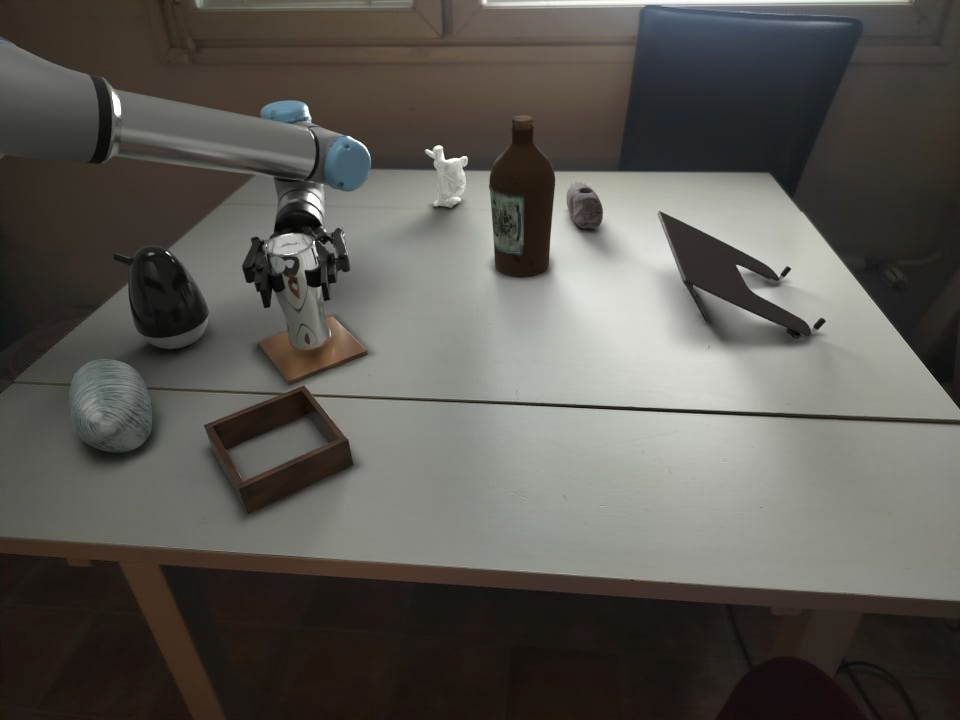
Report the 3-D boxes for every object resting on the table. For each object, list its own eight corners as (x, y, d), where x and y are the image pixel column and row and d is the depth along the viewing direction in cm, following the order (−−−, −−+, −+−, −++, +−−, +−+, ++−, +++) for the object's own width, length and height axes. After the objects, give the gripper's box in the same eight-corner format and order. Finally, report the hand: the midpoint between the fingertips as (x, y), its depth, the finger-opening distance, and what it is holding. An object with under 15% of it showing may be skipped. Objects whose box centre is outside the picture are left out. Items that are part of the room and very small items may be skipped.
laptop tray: (790, 381, 96) (836, 334, 91) (655, 320, 92) (694, 267, 87) (749, 300, 115) (784, 257, 110) (634, 246, 111) (666, 199, 105)
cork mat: (288, 384, 90) (287, 381, 90) (257, 345, 98) (257, 341, 98) (367, 353, 96) (367, 350, 95) (332, 318, 104) (332, 315, 103)
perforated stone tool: (559, 205, 137) (561, 172, 133) (585, 203, 137) (587, 170, 133) (575, 236, 125) (578, 200, 121) (603, 234, 125) (606, 198, 121)
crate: (247, 514, 71) (238, 488, 69) (212, 449, 80) (203, 424, 78) (353, 465, 77) (348, 439, 75) (310, 409, 86) (304, 384, 83)
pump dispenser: (160, 321, 105) (127, 231, 96) (225, 320, 104) (198, 230, 95) (130, 358, 96) (91, 264, 88) (200, 358, 96) (168, 264, 87)
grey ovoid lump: (92, 409, 89) (29, 379, 80) (149, 362, 90) (92, 327, 81) (130, 481, 82) (65, 457, 73) (191, 429, 83) (134, 400, 74)
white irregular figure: (427, 210, 137) (422, 152, 130) (431, 197, 143) (427, 141, 136) (468, 210, 136) (465, 151, 129) (470, 197, 142) (468, 141, 135)
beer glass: (329, 351, 93) (310, 254, 84) (280, 353, 93) (255, 256, 84) (338, 324, 99) (320, 231, 90) (291, 326, 99) (269, 232, 90)
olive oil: (518, 245, 122) (518, 104, 108) (564, 262, 116) (571, 115, 102) (478, 266, 116) (473, 120, 102) (525, 285, 110) (526, 133, 96)
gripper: (367, 238, 108) (376, 310, 89) (240, 252, 105) (223, 329, 87) (360, 194, 104) (368, 260, 85) (228, 207, 101) (207, 279, 82)
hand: (295, 295), depth 86 cm, fingers closed on beer glass, 7 cm apart
